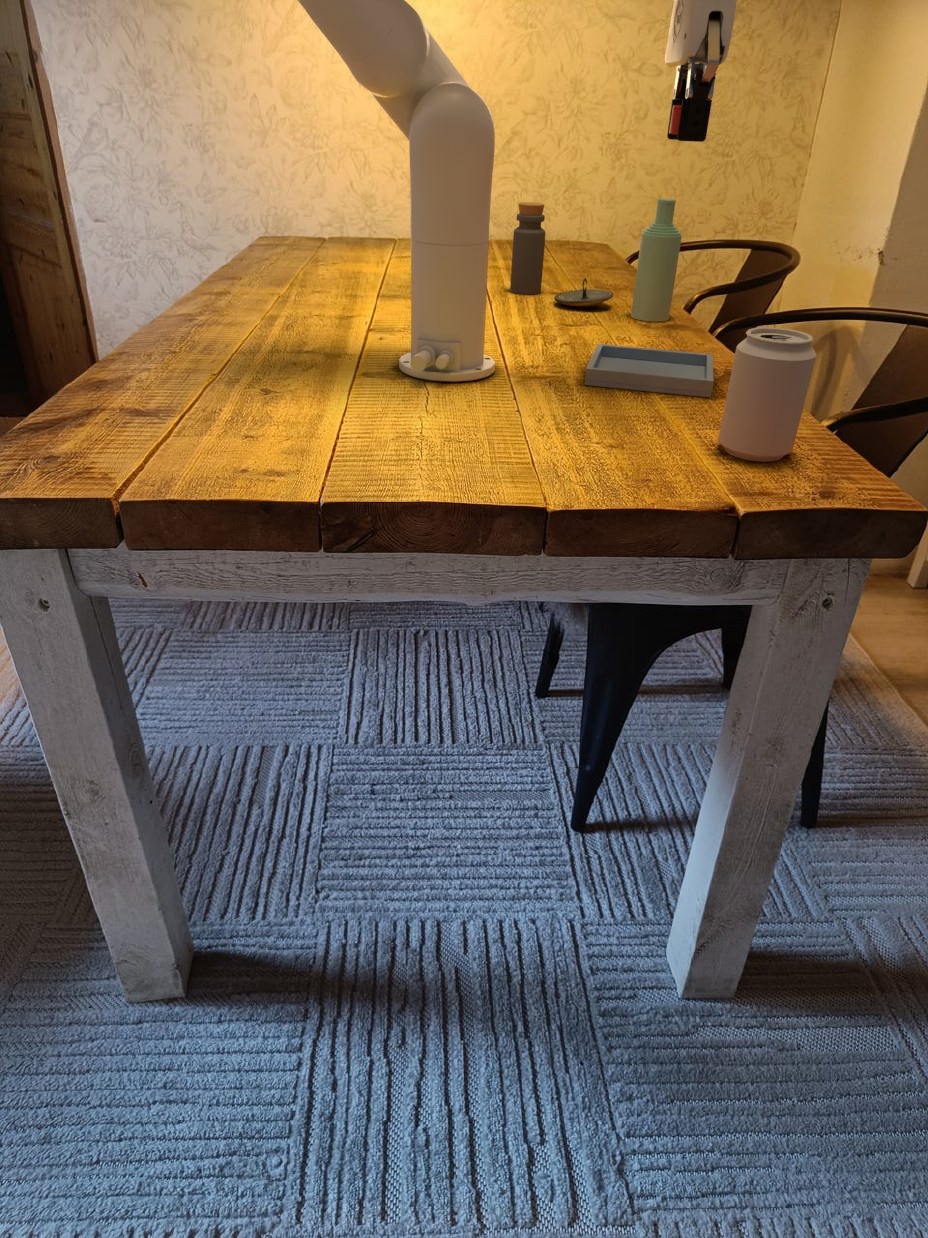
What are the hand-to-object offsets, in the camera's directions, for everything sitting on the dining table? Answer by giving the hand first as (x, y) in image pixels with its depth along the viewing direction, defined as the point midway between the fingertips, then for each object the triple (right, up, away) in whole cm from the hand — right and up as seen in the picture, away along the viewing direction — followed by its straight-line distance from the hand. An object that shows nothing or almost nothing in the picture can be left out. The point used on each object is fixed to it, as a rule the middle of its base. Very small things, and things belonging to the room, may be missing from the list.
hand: (685, 138), depth 96 cm
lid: (-4, 0, +52) cm, 52 cm away
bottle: (-14, +6, +62) cm, 64 cm away
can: (+4, -38, -9) cm, 39 cm away
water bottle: (+6, -4, +46) cm, 46 cm away
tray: (-1, -24, +14) cm, 27 cm away
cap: (0, 0, 0) cm, 0 cm away
